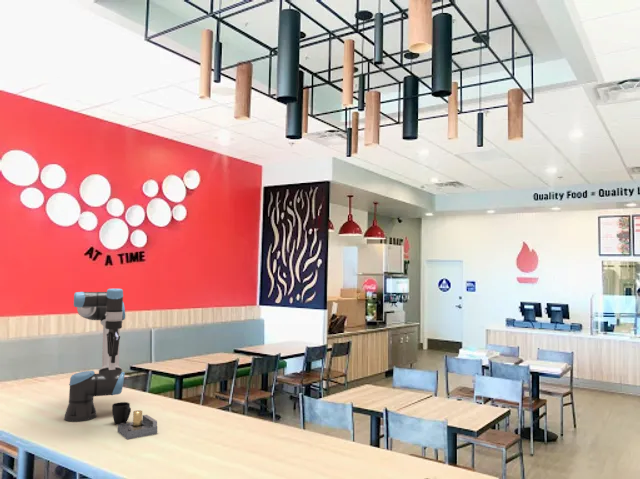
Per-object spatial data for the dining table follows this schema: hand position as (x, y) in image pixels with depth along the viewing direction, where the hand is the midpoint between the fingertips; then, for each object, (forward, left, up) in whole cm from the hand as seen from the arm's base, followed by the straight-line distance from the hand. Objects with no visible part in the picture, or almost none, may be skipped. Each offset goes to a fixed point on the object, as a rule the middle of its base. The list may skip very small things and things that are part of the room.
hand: (111, 369), depth 251 cm
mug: (-8, +9, -29) cm, 32 cm away
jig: (+11, +10, -29) cm, 33 cm away
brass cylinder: (+11, +9, -29) cm, 33 cm away
